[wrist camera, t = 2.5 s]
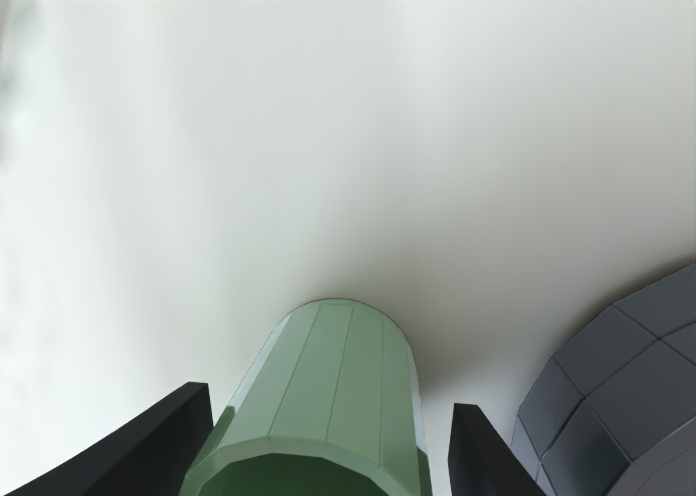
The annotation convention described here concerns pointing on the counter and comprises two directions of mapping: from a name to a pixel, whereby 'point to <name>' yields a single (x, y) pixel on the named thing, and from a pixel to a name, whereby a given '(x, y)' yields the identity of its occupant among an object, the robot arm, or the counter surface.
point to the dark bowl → (619, 401)
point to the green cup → (321, 413)
